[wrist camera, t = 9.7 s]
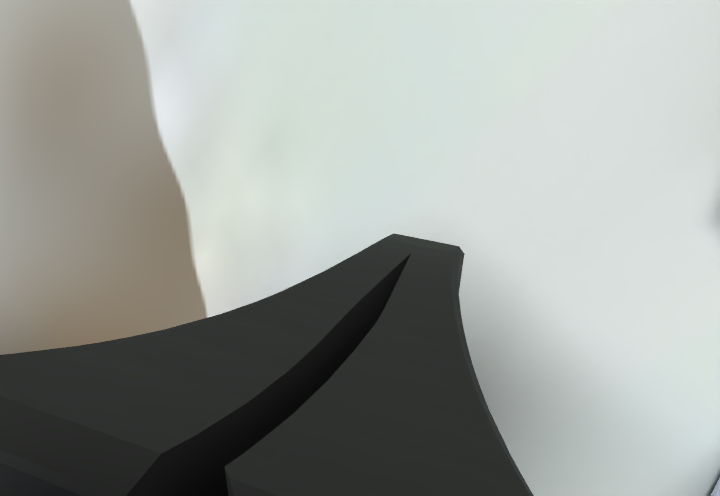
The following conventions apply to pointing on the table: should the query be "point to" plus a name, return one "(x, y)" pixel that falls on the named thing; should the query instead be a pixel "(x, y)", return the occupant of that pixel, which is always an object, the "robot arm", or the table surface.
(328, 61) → the table surface
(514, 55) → the table surface
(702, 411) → the table surface
